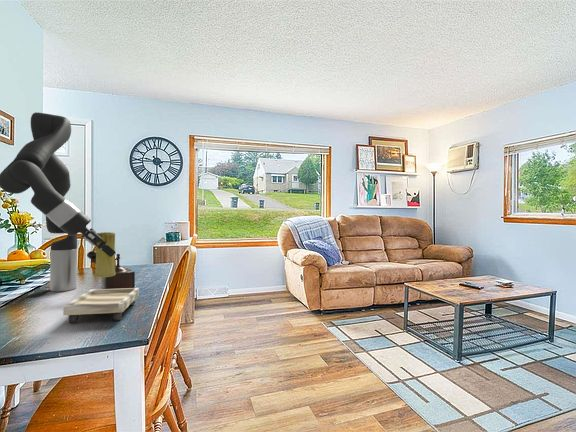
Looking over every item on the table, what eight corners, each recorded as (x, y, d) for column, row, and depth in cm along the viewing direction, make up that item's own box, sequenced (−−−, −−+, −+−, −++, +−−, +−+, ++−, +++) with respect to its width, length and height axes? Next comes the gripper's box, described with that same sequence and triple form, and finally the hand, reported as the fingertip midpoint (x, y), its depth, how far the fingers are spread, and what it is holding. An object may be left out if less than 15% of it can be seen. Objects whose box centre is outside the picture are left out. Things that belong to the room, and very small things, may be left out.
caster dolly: (90, 305, 109) (90, 289, 109) (138, 303, 113) (138, 287, 112) (63, 325, 89) (63, 306, 89) (122, 322, 93) (122, 303, 93)
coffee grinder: (127, 288, 133) (127, 248, 133) (135, 293, 125) (136, 250, 125) (85, 294, 122) (85, 250, 122) (91, 300, 114) (92, 253, 114)
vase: (105, 278, 97) (106, 233, 97) (89, 276, 98) (90, 233, 98) (119, 274, 103) (120, 232, 103) (104, 273, 104) (105, 232, 104)
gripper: (81, 209, 90) (125, 247, 98) (77, 209, 102) (117, 243, 109) (58, 227, 87) (105, 265, 95) (57, 225, 98) (99, 259, 106)
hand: (111, 253), depth 102 cm, fingers closed on vase, 5 cm apart
